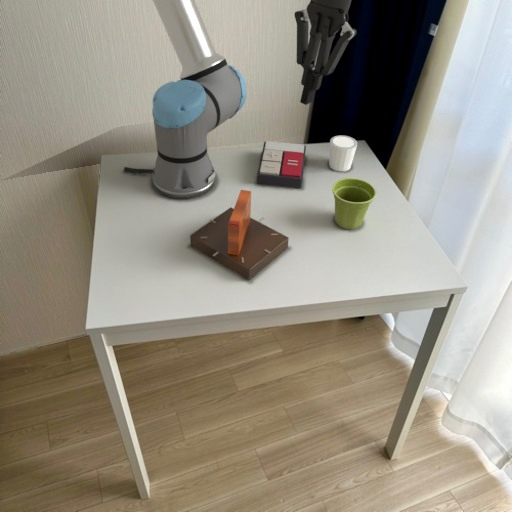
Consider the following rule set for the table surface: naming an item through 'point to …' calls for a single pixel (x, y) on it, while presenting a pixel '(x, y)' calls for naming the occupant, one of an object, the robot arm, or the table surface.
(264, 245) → the dial panel
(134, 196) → the table surface
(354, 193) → the plant pot
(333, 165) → the white fluted cup
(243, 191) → the pointer
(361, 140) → the table surface
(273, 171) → the calculator
